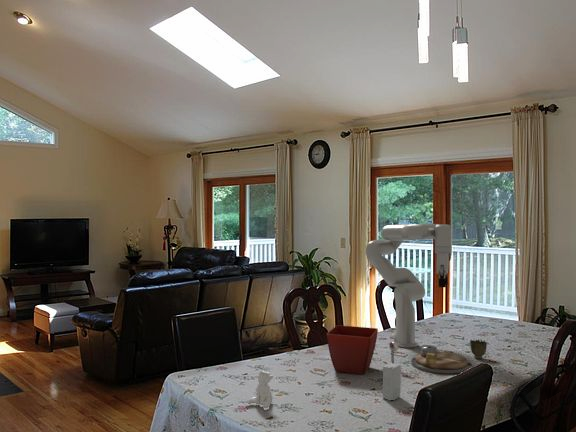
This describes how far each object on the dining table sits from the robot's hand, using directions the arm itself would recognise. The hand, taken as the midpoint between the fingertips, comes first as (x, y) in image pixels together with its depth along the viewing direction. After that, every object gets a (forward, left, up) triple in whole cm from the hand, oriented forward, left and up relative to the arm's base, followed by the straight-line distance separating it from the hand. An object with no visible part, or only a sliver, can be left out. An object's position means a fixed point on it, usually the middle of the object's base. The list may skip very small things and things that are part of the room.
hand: (443, 285), depth 250 cm
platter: (+7, -18, -31) cm, 37 cm away
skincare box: (+12, -69, -33) cm, 77 cm away
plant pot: (-19, -49, -33) cm, 62 cm away
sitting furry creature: (-19, -105, -33) cm, 111 cm away
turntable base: (+7, -18, -33) cm, 38 cm away
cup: (+15, +4, -33) cm, 37 cm away
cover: (+1, -18, -30) cm, 35 cm away
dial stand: (-7, -36, -33) cm, 49 cm away
